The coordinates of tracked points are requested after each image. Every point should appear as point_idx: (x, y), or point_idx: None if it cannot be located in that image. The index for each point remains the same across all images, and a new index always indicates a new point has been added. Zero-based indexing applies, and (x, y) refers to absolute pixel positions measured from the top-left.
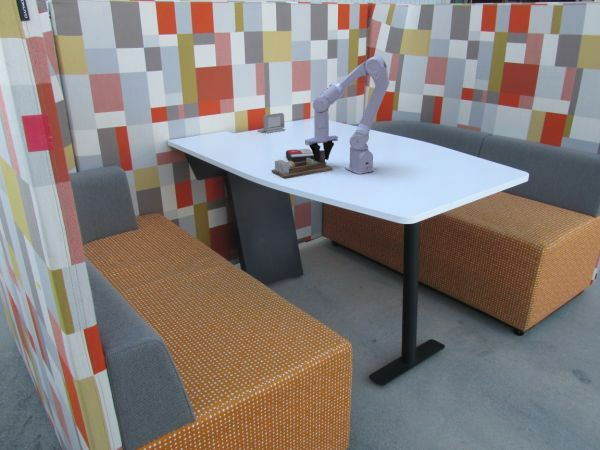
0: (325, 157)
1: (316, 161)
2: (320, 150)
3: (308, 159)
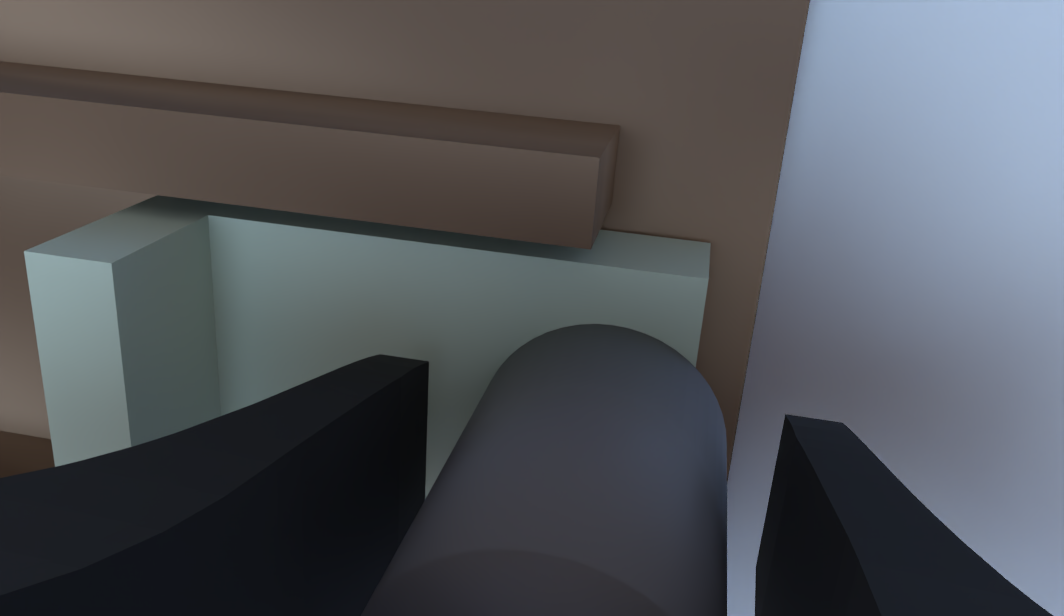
0: (777, 524)
1: (480, 313)
2: (579, 586)
3: (56, 396)
